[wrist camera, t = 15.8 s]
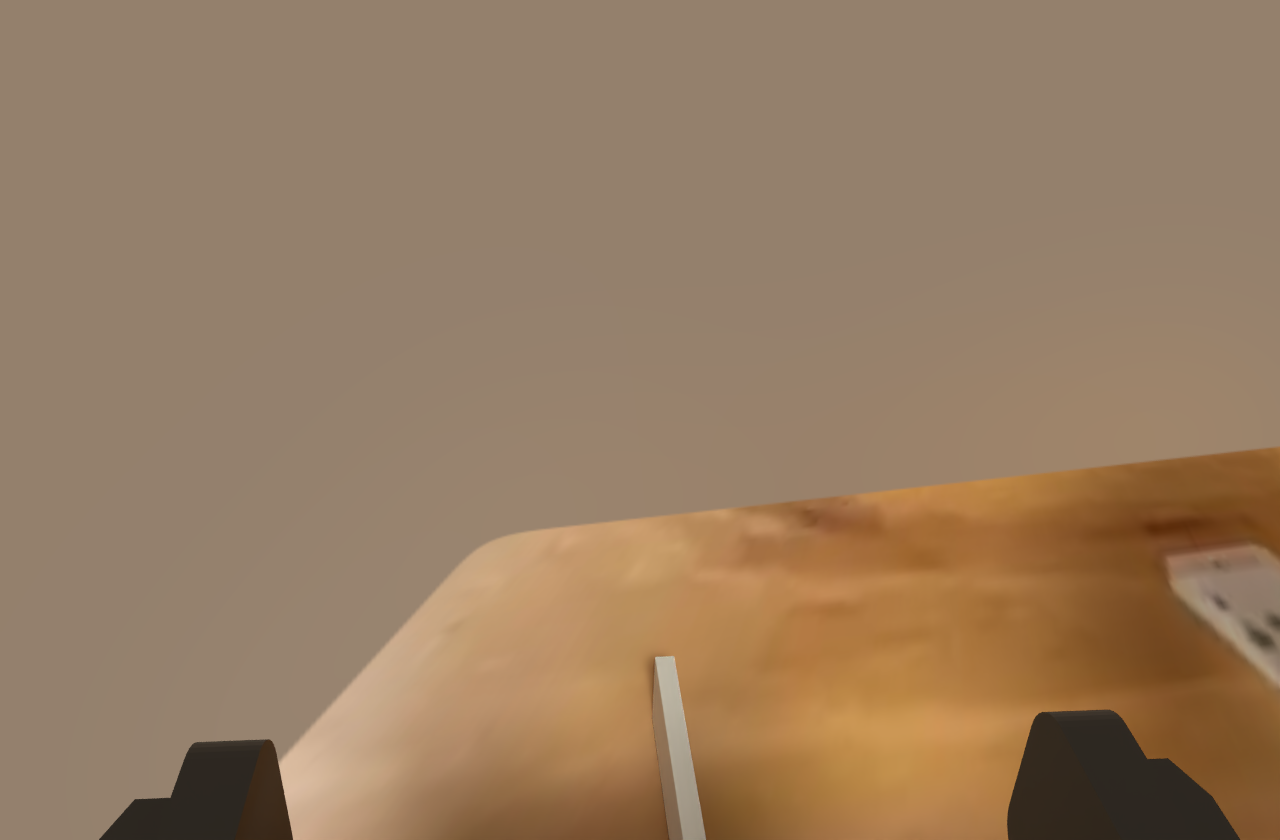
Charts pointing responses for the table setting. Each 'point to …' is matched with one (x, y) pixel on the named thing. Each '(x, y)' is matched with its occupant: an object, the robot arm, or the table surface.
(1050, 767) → the robot arm
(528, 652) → the table surface
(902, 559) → the table surface
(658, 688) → the low wall
